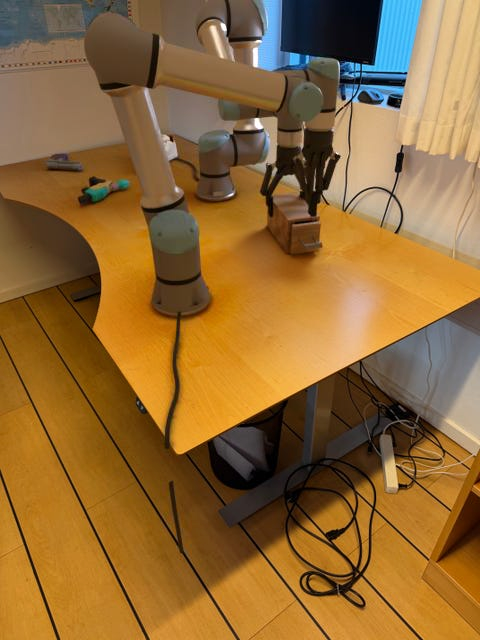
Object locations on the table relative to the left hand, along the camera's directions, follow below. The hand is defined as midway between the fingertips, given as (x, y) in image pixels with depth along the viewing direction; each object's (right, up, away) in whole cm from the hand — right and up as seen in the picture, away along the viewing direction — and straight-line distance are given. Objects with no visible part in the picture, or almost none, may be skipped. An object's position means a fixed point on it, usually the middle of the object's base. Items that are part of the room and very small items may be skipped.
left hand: (312, 214), depth 135 cm
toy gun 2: (-77, +19, +53) cm, 96 cm away
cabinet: (-4, -3, +21) cm, 22 cm away
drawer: (-2, -6, +16) cm, 17 cm away
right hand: (-5, +5, +22) cm, 23 cm away
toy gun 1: (-99, +40, +82) cm, 135 cm away
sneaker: (-58, +42, +83) cm, 109 cm away
